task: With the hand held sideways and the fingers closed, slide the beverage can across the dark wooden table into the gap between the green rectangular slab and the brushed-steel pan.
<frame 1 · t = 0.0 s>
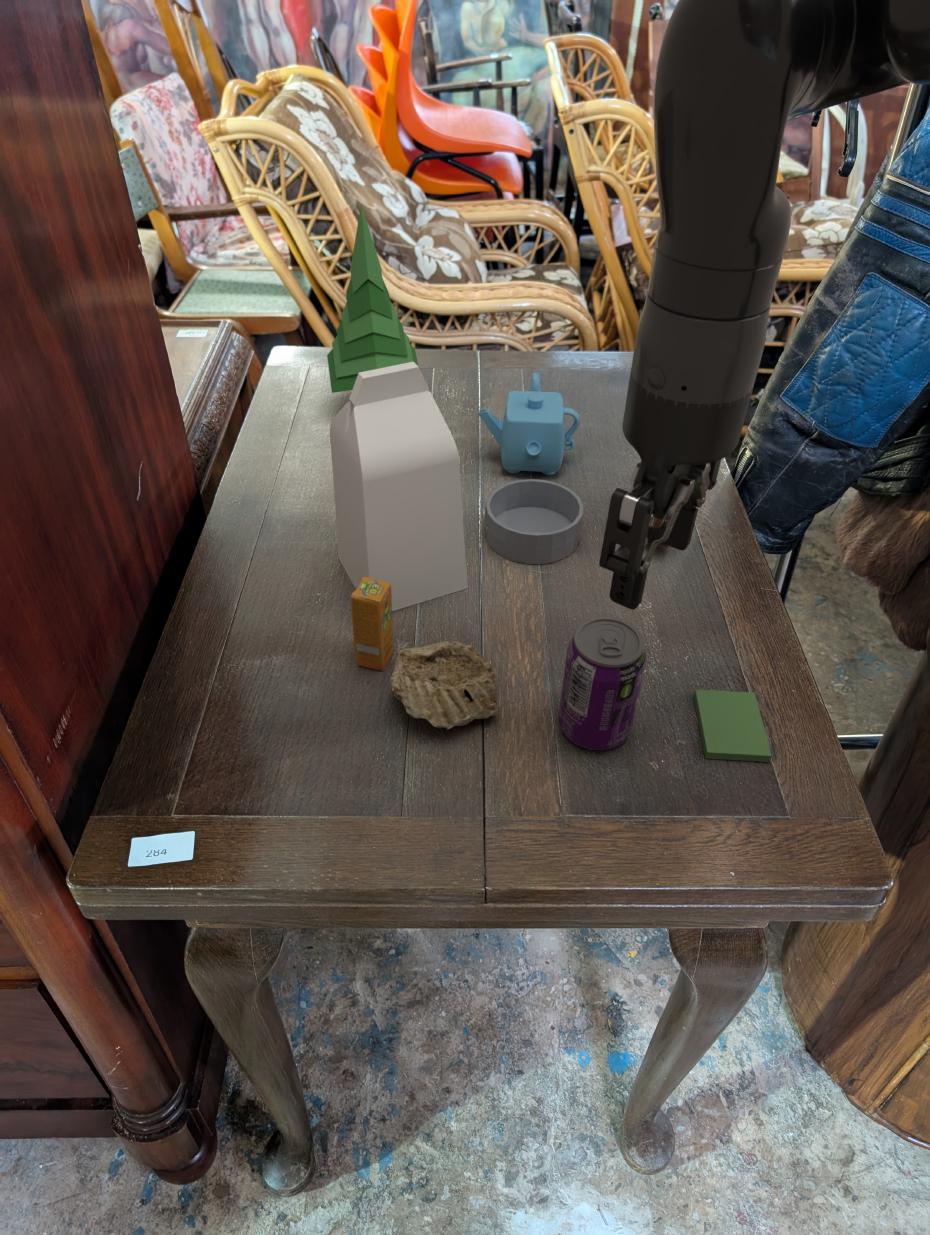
hand: (650, 572, 60), 23 cm above the table, tool pointing down, fingers open, 8 cm apart
teapot: (526, 461, 115), on the table
pan: (532, 534, 101), on the table
tin: (665, 527, 103), on the table
milk: (402, 575, 96), on the table
seashell: (445, 705, 81), on the table
decorative tree: (377, 411, 125), on the table
beverage can: (593, 727, 79), on the table
supplement box: (376, 660, 85), on the table
green rectangular slab: (729, 727, 78), on the table
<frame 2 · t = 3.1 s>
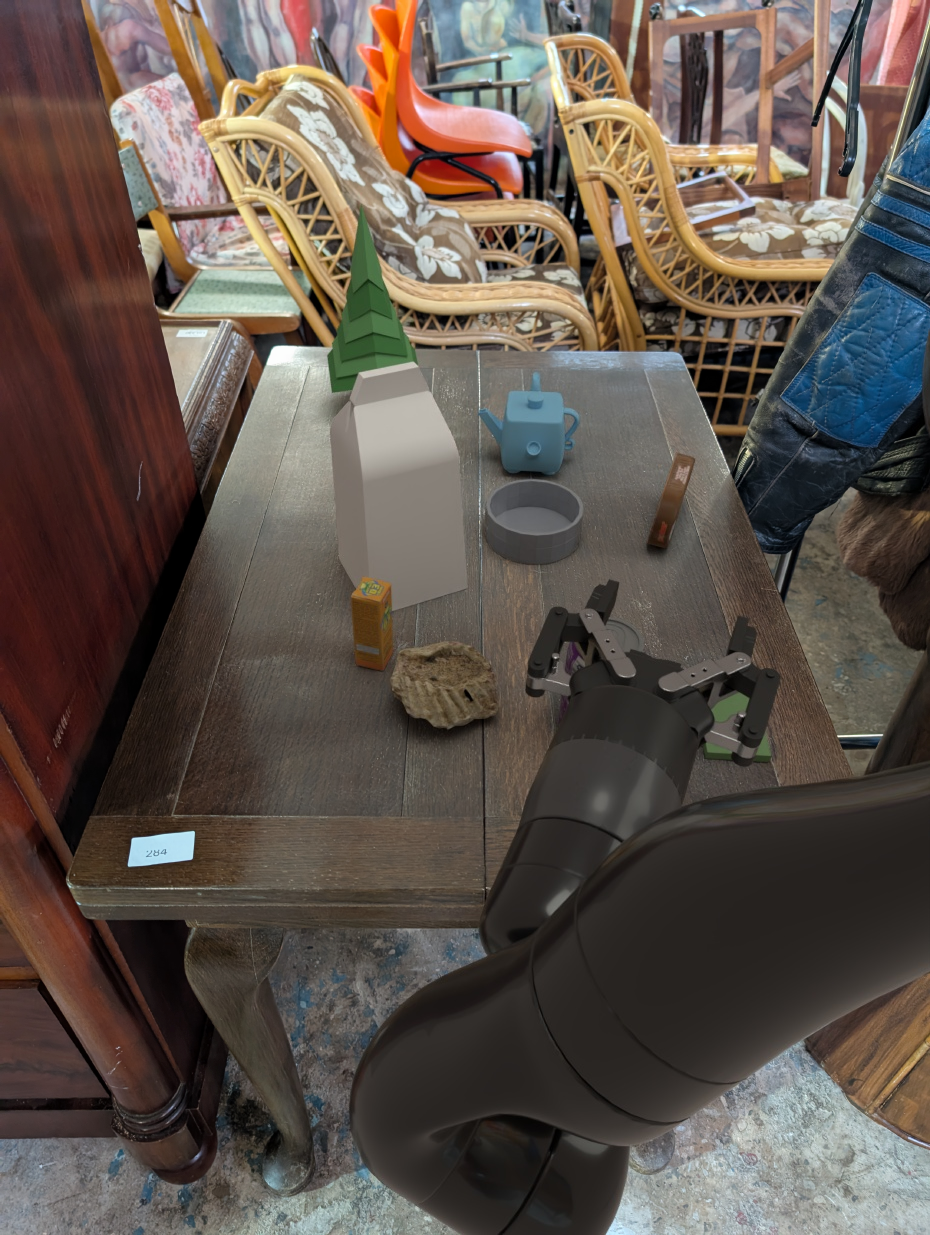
hand: (674, 607, 53), 26 cm above the table, tool horizontal, fingers open, 8 cm apart
nothing on the table moved.
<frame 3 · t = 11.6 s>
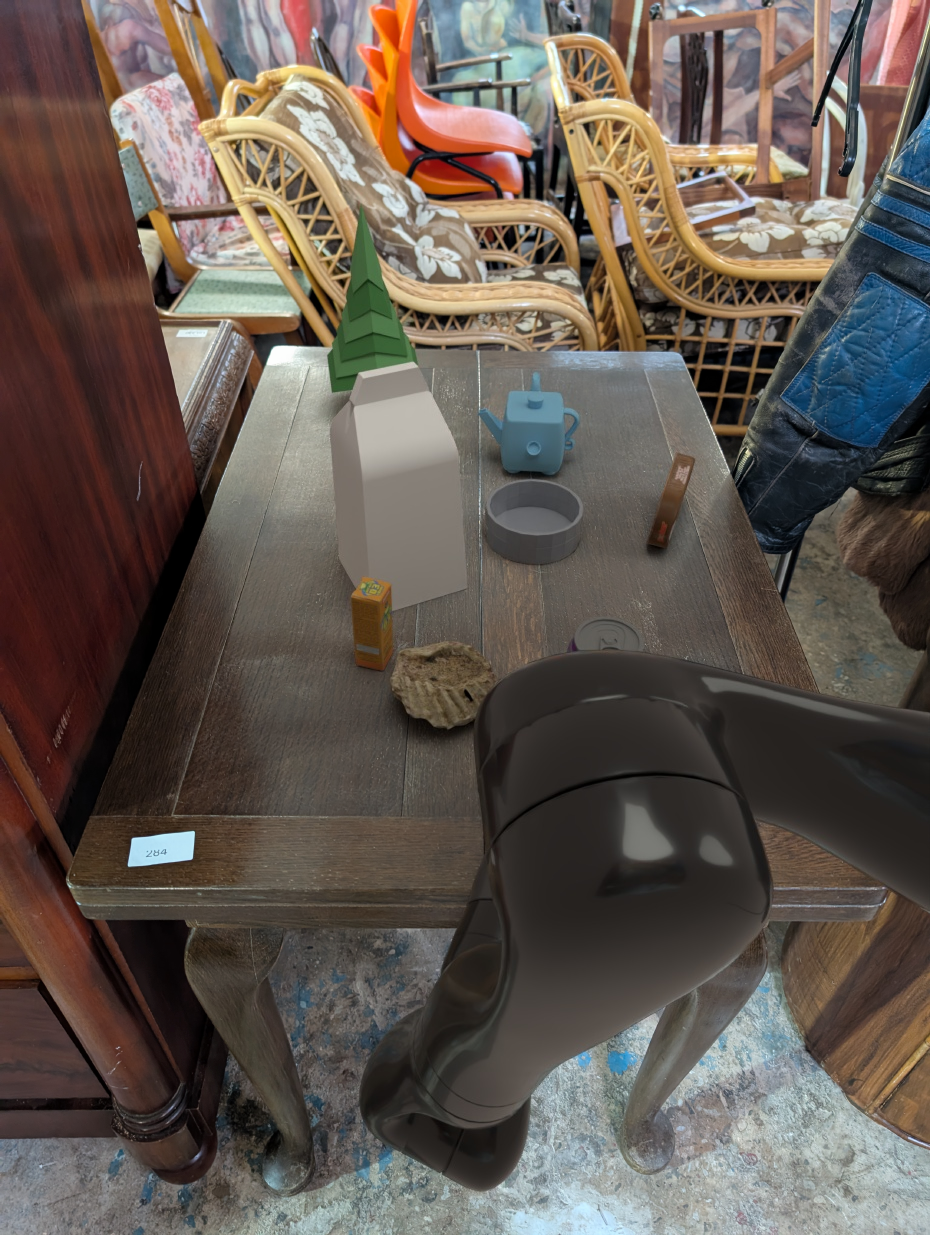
hand: (590, 712, 72), 6 cm above the table, tool horizontal, fingers closed
beverage can: (593, 727, 79), on the table, touching gripper
everything else where it was.
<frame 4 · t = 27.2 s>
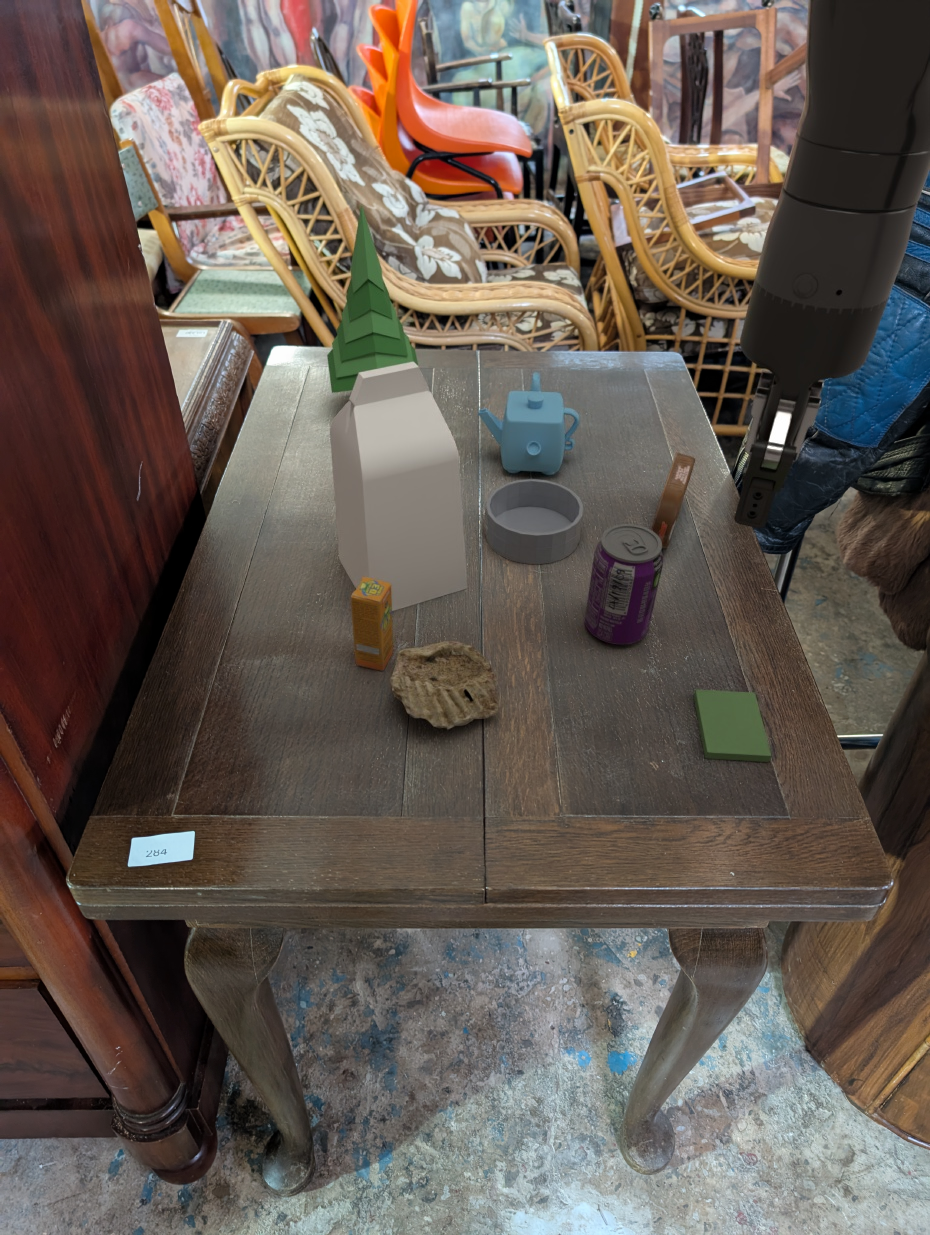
hand: (749, 520, 58), 27 cm above the table, tool pointing down, fingers closed
beverage can: (615, 628, 89), on the table
everything else where it was.
at the end: beverage can inside the target area on the table beside the pan (1.1 cm from its centre), on the table; beverage can tilted 0°; beverage can moved 14.9 cm from its start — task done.
